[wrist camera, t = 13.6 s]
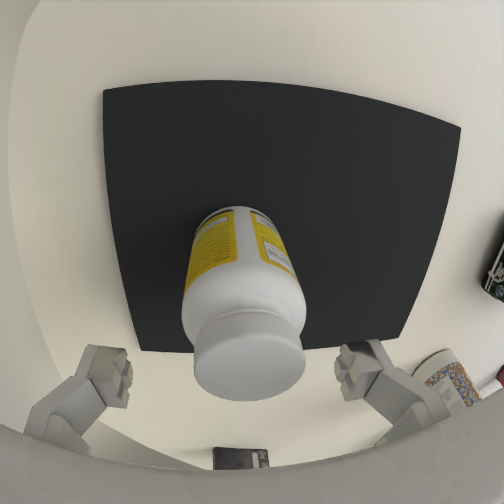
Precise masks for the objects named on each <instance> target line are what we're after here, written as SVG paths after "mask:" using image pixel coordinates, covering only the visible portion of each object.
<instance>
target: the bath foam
mask: <svg viewBox="0 0 504 504" xmlns="http://www.w3.org/2000/svg"><path fill="white" fill-rule="evenodd" d="M413 377H414V378H415V379H417V380H419V381H420V382H422V383H423V384H425V385H427V386H428V387H430V388H431V389H433V390H435V391H436V392H438V393H439V394H440V396H441V398H442V400H443V401H444V403H445V405H446V407H447V409H448V411H449V412H450V414H451V416H453V415H455V414H457V413H459V412H461V411H462V410H464V409H466V408H468V407H470V406H472V405H474V404H475V403H477V402H479V401H481V400H482V399H483V398H482V396H481V395H480V393H479V391H478V390H477V388H476V387H475V385H474V383H473V382H472V380H471V379H470V377H469V376H468V374H467V373H466V371H465V370H464V368H463V367H462V365H461V364H460V362H459V361H458V359H457V358H456V356H455V355H454V354H453V352H451V351H449V350H445V351H441V352H439V353H436V354H435V355H433V356H432V357H430V358H429V359H427V360H426V361H425V362H424V363H423V364H421V365H420V367H419V368H418V369H417V370H416V371H415V373H414V375H413Z"/></svg>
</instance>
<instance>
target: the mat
mask: <svg viewBox="0 0 504 504" xmlns="http://www.w3.org/2000/svg"><path fill="white" fill-rule="evenodd" d="M460 133H461V128H460V127H458V126H456V125H453V124H451V123H448V122H445V121H443V120H440V119H437V118H435V117H432V116H429V115H426V114H423V113H420V112H417V111H414V110H411V109H408V108H404V107H401V106H397V105H394V104H390V103H387V102H383V101H379V100H375V99H371V98H367V97H362V96H358V95H353V94H348V93H343V92H338V91H333V90H327V89H321V88H314V87H307V86H299V85H291V84H282V83H271V82H257V81H234V80H197V81H175V82H161V83H150V84H141V85H133V86H125V87H119V88H112V89H106V90H103V139H104V157H105V170H106V181H107V191H108V200H109V208H110V215H111V222H112V229H113V235H114V241H115V246H116V252H117V257H118V262H119V267H120V272H121V277H122V281H123V286H124V290H125V294H126V298H127V302H128V306H129V310H130V314H131V318H132V321H133V325H134V328H135V332H136V335H137V339H138V342H139V345H140V349H141V351H155V352H176V353H194V345H193V344H192V343H191V341H190V340H189V339H188V337H187V335H186V333H185V331H184V327H183V323H182V303H183V297H184V291H185V284H186V278H187V273H188V267H189V262H190V257H191V251H192V245H193V241H194V237H195V234H196V232H197V229H198V228H199V226H200V225H201V223H202V222H203V221H204V220H205V219H206V218H207V217H208V216H209V215H211V214H212V213H214V212H216V211H218V210H220V209H223V208H226V207H232V206H243V207H249V208H252V209H255V210H257V211H259V212H261V213H263V214H264V215H265V216H267V217H268V218H269V219H270V220H271V221H272V223H273V224H274V226H275V227H276V229H277V231H278V233H279V235H280V237H281V240H282V242H283V245H284V247H285V250H286V252H287V255H288V257H289V259H290V262H291V265H292V267H293V270H294V272H295V275H296V277H297V280H298V282H299V284H300V287H301V290H302V292H303V295H304V299H305V303H306V320H305V324H304V327H303V329H302V332H301V334H300V335H299V337H300V341H301V344H302V348H303V350H307V349H319V348H329V347H338V346H342V345H343V344H345V343H352V342H359V341H367V340H373V339H378V340H379V341H383V340H389V339H395V338H399V335H400V333H401V331H402V329H403V327H404V325H405V323H406V321H407V318H408V316H409V314H410V312H411V310H412V307H413V305H414V303H415V300H416V298H417V295H418V293H419V290H420V288H421V285H422V283H423V280H424V278H425V275H426V272H427V269H428V267H429V264H430V261H431V258H432V255H433V252H434V249H435V246H436V243H437V240H438V236H439V233H440V230H441V226H442V223H443V219H444V215H445V212H446V208H447V204H448V200H449V195H450V191H451V186H452V182H453V177H454V172H455V166H456V161H457V154H458V148H459V141H460Z"/></svg>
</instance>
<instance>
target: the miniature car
mask: <svg viewBox="0 0 504 504" xmlns="http://www.w3.org/2000/svg"><path fill="white" fill-rule="evenodd" d="M488 274H489V275H485V277H484V279H483V281H482V284H481V286H482V288H483V290H485V291H486V292H487V293H489V294H490V295H491V296H492V297H493V298H495V299H498V300H500V301H502V302H503V303H504V243H503V246H502V248H501V250H500V252H499V254H498V256H497V259H496V261H495V264H494V266H493V268H492V270H491V271H489V272H488Z"/></svg>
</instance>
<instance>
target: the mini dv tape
mask: <svg viewBox="0 0 504 504" xmlns="http://www.w3.org/2000/svg"><path fill="white" fill-rule="evenodd" d="M257 468H269V460H268V453H267V450H258V449H233V448H219V447H215V448H214V450H213V470H242V469H257Z"/></svg>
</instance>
